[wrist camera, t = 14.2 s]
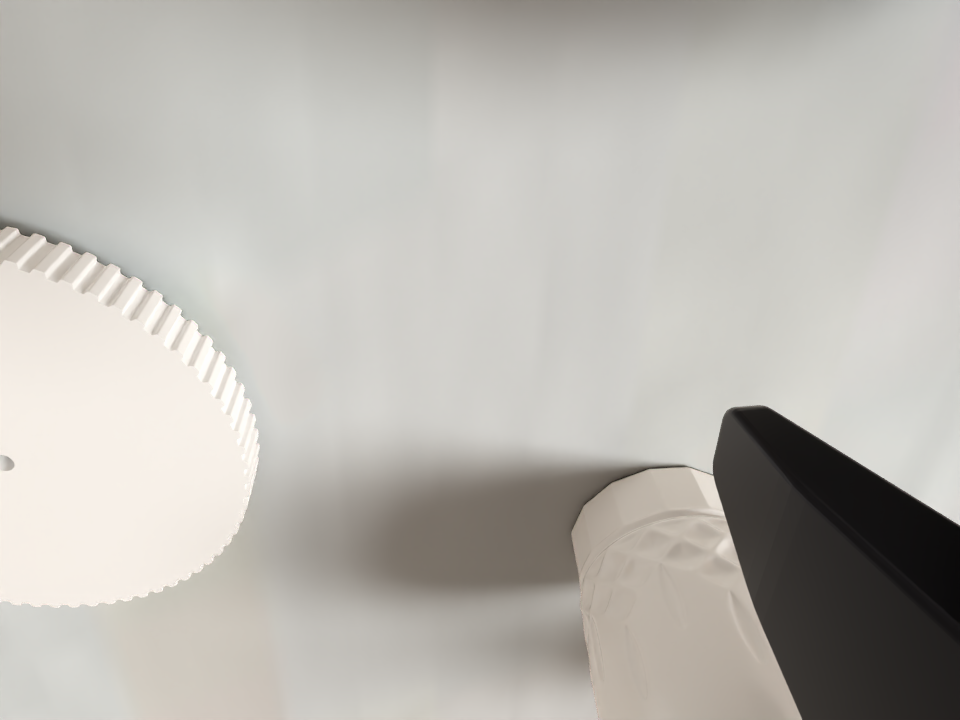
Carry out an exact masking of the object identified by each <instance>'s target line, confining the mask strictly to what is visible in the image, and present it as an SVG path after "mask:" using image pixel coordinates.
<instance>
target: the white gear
mask: <svg viewBox="0 0 960 720" xmlns="http://www.w3.org/2000/svg"><path fill="white" fill-rule="evenodd" d="M142 283H143V282H142V281H141V280H139V279H138V278H136V277H134V276H133V277H131V278H127V277H125V276H123V275H122V274H120V268H119V267H117V266H115V265H113V264H109V265H107V266H105V265H102V264H100V263H98V262H97V257H96V256H95V255H92V254H90V253H88V252H85V253H84V254H83V255H80V254H78V253H75V252H73V251H72V247H71V245H68V244H66V243H63V242H59V243H58V244H57V245H54V244H51V243H48V242H47V241H46V238H45V236H42V235H39V234H35V233H34V234H32V235H31V236H30V237H28V236H24V235H21V234H20V232H19V230H18V229H17V228H12V227H8V226H7V227H6V228H4V229H3V230H0V603H1V602H2V601H9V602H11V603H12V604H13V605H22V603H27V604H31V605H32V606H33V607H41V605H50V606H51V607H53V608H60V606H61V605H69V606H70V607H79V605H80V604H87V605H88V606H97V604H98V603H101V602H104V603H106V604H114V603H115V601H116V600H123V601H130V600H131V599H132V597H134V596H138V597H140V598H142V597H146V596H147V595H148V593H149V592H151V591H153V592H155V593H158V592H161V591H162V590H163V588H164V587H165V586H169V587H173V586H175V585H177V582H178V580H180V579H181V580H184V581H185V580H187V579H189V578H190V576H191V573H192V572H195V573H199V572H200V571H202V568H203V565H204V564H207V565H209V564H211V563H212V562H213V560H214V556H215V555H218V556H219V555H220V554H221V553H222V552H223V549H224V546H225V545H229V544H230V542H231V540H232V537H233V534H234V535H235V534H236V533H237V531H238V529H239V525H240V523H242V521H243V518H244V515H245V511H246V509H247V506H248V502H249V498H250V495H251V491H252V487H253V484H254V480H255V476H256V473H257V471H256V469H257V466H258V462H259V458H258V457H257V456H258V452H259V443H256V442H257V439H258V435H259V434H258V429H255V428H254V425H255V422H256V418H255V414H252V413H249V411H250V408H251V402H250V399H248V398H244V397H243V394H244V391H245V388H244V386H243V384H242V383H237V382H236V381H235V376H236V372H235V370H234V368H233V367H227V366H226V365H225V363H224V361H225V359H226V357H225V355H224V354H223V353H222V352H221V351H215V350H214V349H213V348H212V344H213V341H212V339H211V338H210V337H209V336H208V335H205V336H202V335H201V334H200V333H199V332H198V331H197V329H198V325H197V324H196V323H195V322H194V321H193V320H188V321H187V320H185V319H184V318H183V317H182V316H181V315H180V314H181V312H182V310H181V309H180V308H178V307H177V306H176V305H171V306H169V305H167V304H166V303H165V302H163V301H162V298H163V295H162V294H160V293H159V292H157V291H156V290H153V291H151V292H150V291H148V290H146V289H145V288H143V287H142Z"/></svg>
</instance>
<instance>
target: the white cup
mask: <svg viewBox="0 0 960 720" xmlns="http://www.w3.org/2000/svg"><path fill="white" fill-rule="evenodd" d="M571 537H572V542H573V548H574V553H575V558H576V563H577V569H578V574H579V584H580V591H581V599H580V608H581V613H582V617H583V628H584V636H585V643H586V647H587V651H588V655H589V667H590V676H591V682H592V687H593V692H594V697H595V703H596V708H597V714H598V720H802V718H801V716H800V714H799V711H798V709H797V707H796V704H795V702H794V700H793V697H792V695H791V693H790V690H789V688H788V686H787V684H786V681H785V679H784V677H783V674H782V672H781V670H780V667H779V665H778V663H777V660H776V658H775V656H774V654H773V651H772V649H771V647H770V644H769V642H768V640H767V637H766V635H765V633H764V631H763V628H762V626H761V623H760V621H759V618H758V616H757V614H756V611H755V609H754V606H753V603H752V600H751V597H750V595H749V592H748V589H747V586H746V582H745V579H744V576H743V573H742V569H741V566H740V563H739V560H738V556H737V553H736V550H735V547H734V543H733V540H732V537H731V534H730V530H729V527H728V524H727V521H726V517H725V514H724V511H723V507H722V504H721V501H720V498H719V494H718V491H717V488H716V485H715V481H714V476H713V475H710V474H707V473H704V472H701V471H698V470H695V469H692V468H689V467H680V468H659V469H648V470H645V471H642V472H640V473H637V474H634V475H631V476H629V477H626V478H623V479H621V480H618V481H615V482H613V483H611V484H610V485H608V486H607V487H606V488H605V489H603V490H602V491H601V492H600V493H599V494H597V495H596V496H595V497H594V498H593V499H591V500H590V501H589V502H588V503H586V504H585V505H584V506H583V508H582V510H581V513H580V515H579V517H578V519H577V521H576V523H575V525H574V528H573V530H572V532H571Z"/></svg>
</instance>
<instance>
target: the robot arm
mask: <svg viewBox="0 0 960 720" xmlns="http://www.w3.org/2000/svg"><path fill="white" fill-rule="evenodd" d="M713 476H714V481H715V485H716V488H717V491H718V494H719V498H720V501H721V504H722V507H723V511H724V514H725V517H726V521H727V524H728V527H729V530H730V534H731V537H732V540H733V543H734V547H735V550H736V553H737V556H738V560H739V563H740V566H741V569H742V573H743V576H744V579H745V582H746V586H747V589H748V592H749V595H750V597H751V600H752V603H753V606H754V609H755V611H756V614H757V616H758V618H759V621H760V623H761V626H762V628H763V631H764V633H765V635H766V637H767V640H768V642H769V644H770V647H771V649H772V651H773V654H774V656H775V658H776V660H777V663H778V665H779V667H780V670H781V672H782V674H783V677H784V679H785V681H786V684H787V686H788V688H789V690H790V693H791V695H792V697H793V700H794V702H795V704H796V707H797V709H798V711H799V714H800V716H801V718H802V720H960V525H958V524H956V523H955V522H953V521H952V520H950V519H948V518H947V517H945V516H943V515H942V514H940V513H939V512H937V511H935V510H934V509H932V508H931V507H929V506H927V505H926V504H924V503H922V502H921V501H919V500H918V499H916V498H914V497H913V496H911V495H910V494H908V493H906V492H905V491H903V490H901V489H900V488H898V487H897V486H895V485H893V484H892V483H890V482H889V481H887V480H885V479H884V478H882V477H880V476H879V475H877V474H876V473H874V472H872V471H871V470H869V469H868V468H866V467H864V466H863V465H861V464H859V463H858V462H856V461H855V460H853V459H851V458H850V457H848V456H847V455H845V454H843V453H842V452H840V451H838V450H837V449H835V448H834V447H832V446H830V445H829V444H827V443H826V442H824V441H822V440H821V439H819V438H817V437H816V436H814V435H813V434H811V433H809V432H808V431H806V430H805V429H803V428H801V427H800V426H798V425H796V424H795V423H793V422H792V421H790V420H788V419H787V418H785V417H784V416H782V415H780V414H779V413H777V412H775V411H774V410H772V409H770V408H768V407H766V406H760V405H757V406H744V407H733V408H731V409H729V410H727V411H726V413H725V414H724V417H723V420H722V424H721V429H720V433H719V437H718V442H717V446H716V451H715V455H714V460H713Z"/></svg>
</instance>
